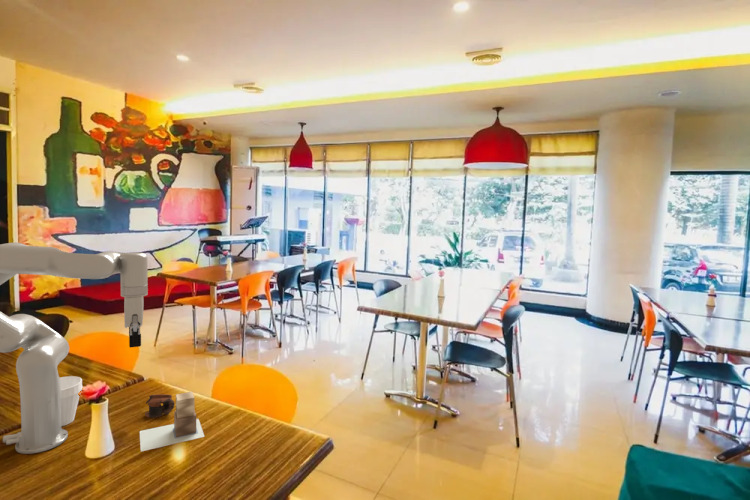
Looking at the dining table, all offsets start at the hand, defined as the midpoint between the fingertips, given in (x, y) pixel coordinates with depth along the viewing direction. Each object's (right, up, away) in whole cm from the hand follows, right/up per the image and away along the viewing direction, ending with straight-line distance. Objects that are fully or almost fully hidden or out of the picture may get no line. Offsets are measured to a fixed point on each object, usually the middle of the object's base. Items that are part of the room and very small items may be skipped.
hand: (134, 342), depth 132 cm
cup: (-29, -29, +6) cm, 41 cm away
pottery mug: (+1, -30, +14) cm, 33 cm away
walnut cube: (+15, -30, +2) cm, 34 cm away
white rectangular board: (+12, -31, 0) cm, 33 cm away
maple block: (+16, -24, +2) cm, 29 cm away
